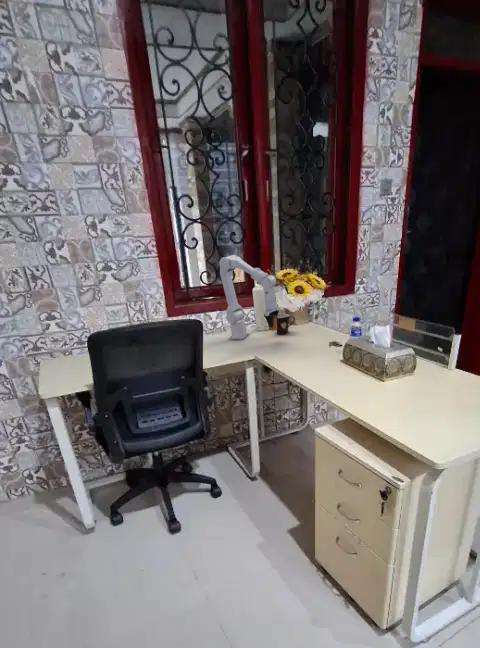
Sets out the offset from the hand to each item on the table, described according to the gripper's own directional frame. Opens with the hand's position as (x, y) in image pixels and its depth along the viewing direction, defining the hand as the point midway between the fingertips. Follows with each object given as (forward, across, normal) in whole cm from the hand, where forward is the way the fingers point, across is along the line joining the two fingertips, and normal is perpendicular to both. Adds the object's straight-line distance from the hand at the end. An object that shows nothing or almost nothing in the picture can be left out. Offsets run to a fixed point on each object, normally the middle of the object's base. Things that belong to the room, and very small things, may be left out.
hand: (272, 325), depth 222 cm
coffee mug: (+9, +16, -1) cm, 18 cm away
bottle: (+9, +24, +15) cm, 29 cm away
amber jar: (+2, 0, 0) cm, 2 cm away
